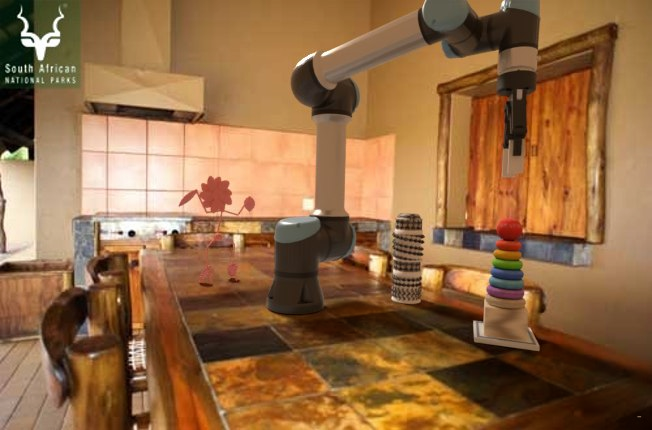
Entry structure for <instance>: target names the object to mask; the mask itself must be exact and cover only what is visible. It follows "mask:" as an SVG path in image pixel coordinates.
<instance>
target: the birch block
mask: <svg viewBox="0 0 652 430" xmlns="http://www.w3.org/2000/svg"><path fill="white" fill-rule="evenodd" d="M483 300H484V303H483V305H484V306H483V321H482V322H483V328H484V335H486V336H493V337H500V338H507V339H514V340H521V341H526V339H527V327H528V316H529V312H528V310H527V309H528V308H527V307H526V305H525V306H524V307H522V308H518V309H508V308H501V307H496V306H493V305H490V304H488V303H487V302H486V300H485V298H484V299H483Z"/></svg>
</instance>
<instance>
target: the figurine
mask: <svg viewBox="0 0 652 430" xmlns="http://www.w3.org/2000/svg"><path fill="white" fill-rule="evenodd" d="M200 187H201V192H199V191H198V189H197V188H195V189H194V190H191V191H189V192H188V193H186V194H185V195H184V196H183V197H182V198H181V200H180V202H179V204H178V207H179V208H180V207H182V206H184V205H186V204H187V203H189V202H190V201H191V200H192V199H194V197H195V195H197V197H198V199H199V201H200V203H201V206H202V208H203V210H204V212H205V214H216V213H218V212H220V215H219V221H218V227H217V231H216V233H215V234H214V237H213V239H212V240H211V241H210V242H209V243H208V245H207V246H206V267H205V268H204V269H203V270H202V272H201V273H200V275H199V276H200V277H199V280H198V281H199V283H201V282H202V281H203V280H204V279H205V278H206V277H207V276H206V275H209V281H210V285H211V284H214V283H213V278H212V274H211V271H210V270H211V268H212V266H211V264H209V250H208V249H209V246H210V245H212V243H213V242H214V241H216V242H221V241H222V240H223V241H226V242H228V243H230V244H232V245H233V249H232V250H233V251H232V261H231V263H230V264H229V265H228V266H227V268H226V272H227V275H228V276H230V277H232V278H233V277H234V278H235V282H237V281H238V276H237V274H236V273H237V272H238V270H239V266H238V264H237V263H236V262H235V261H234V258H235V249H236V244H235V242H232V241H229V240H228V239H226V238H224V236H223V234H222V233H220V232H219V231H220V228H221V227H220V226H221V223H222V219H223V218H222V217H223V213H227V214H231V215H233V216H234V215H235V216H236V217H239V215H240V214H241V213H242V211H243V210H244V208H245V210H247V211H248V212H249V213H250V212H252V211H253V209H254V208H255V205H256V201H255V199H254V198H253V197H252V196H250V195H248V197H246V198H245V199H244V200H243V205H242V207H241V208H240V210H239V211H238V212H237V213H235V212H231V211H229V210H225V209H226V205H227V206H232V204H233V200H232V197H231V196H232V194H233V192H232V190H231V189H229V187H230V181H229V180H225V179H224V180H222V177H221V176H216V177H215V178H214V177H213V175H209V176H208V178H207V181H206V183H205V182H202V183H201V184H200ZM208 208H210V210H209V211H208V210H207V209H208ZM251 279H253V277H252V276H251Z"/></svg>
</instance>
